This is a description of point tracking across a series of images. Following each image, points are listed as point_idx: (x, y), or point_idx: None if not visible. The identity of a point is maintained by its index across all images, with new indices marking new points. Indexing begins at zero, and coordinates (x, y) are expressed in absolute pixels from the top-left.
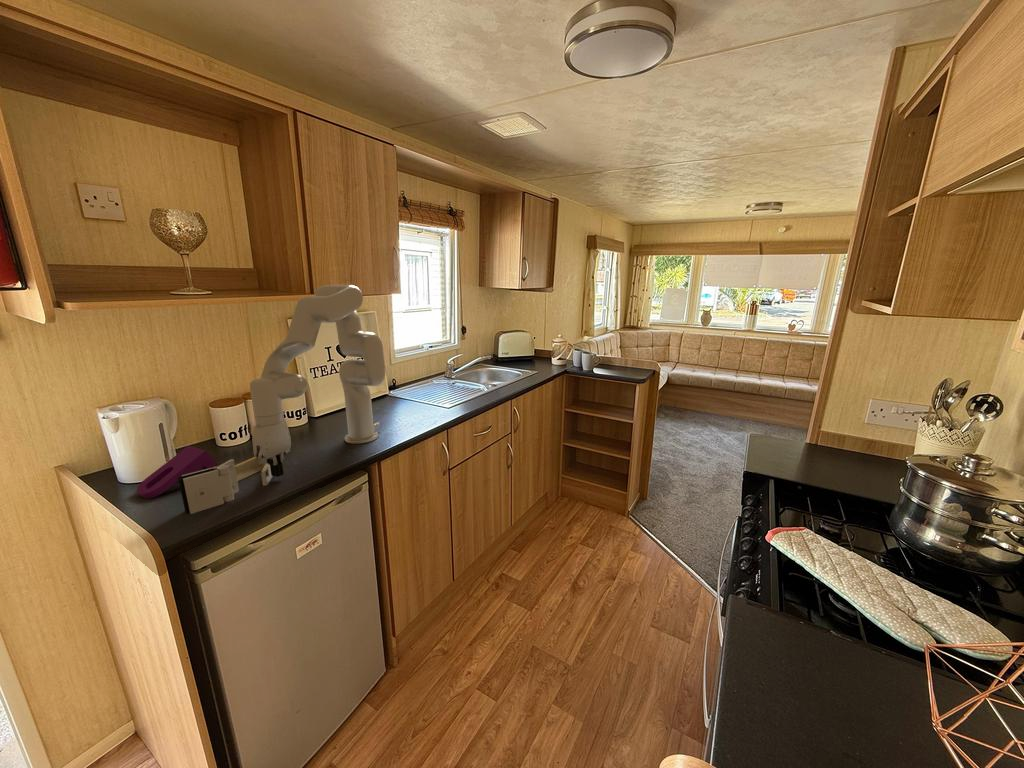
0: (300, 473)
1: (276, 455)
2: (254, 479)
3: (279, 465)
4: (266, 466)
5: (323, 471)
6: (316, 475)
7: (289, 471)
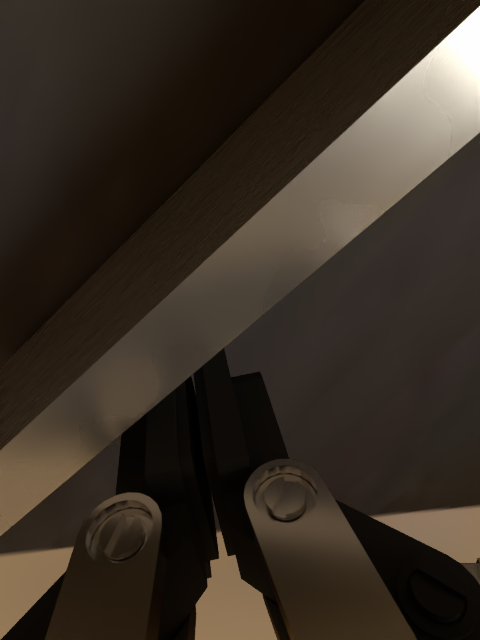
0: (377, 383)
1: (322, 609)
2: (16, 34)
3: (214, 548)
4: (96, 410)
5: (446, 477)
6: (376, 493)
7: (391, 255)
